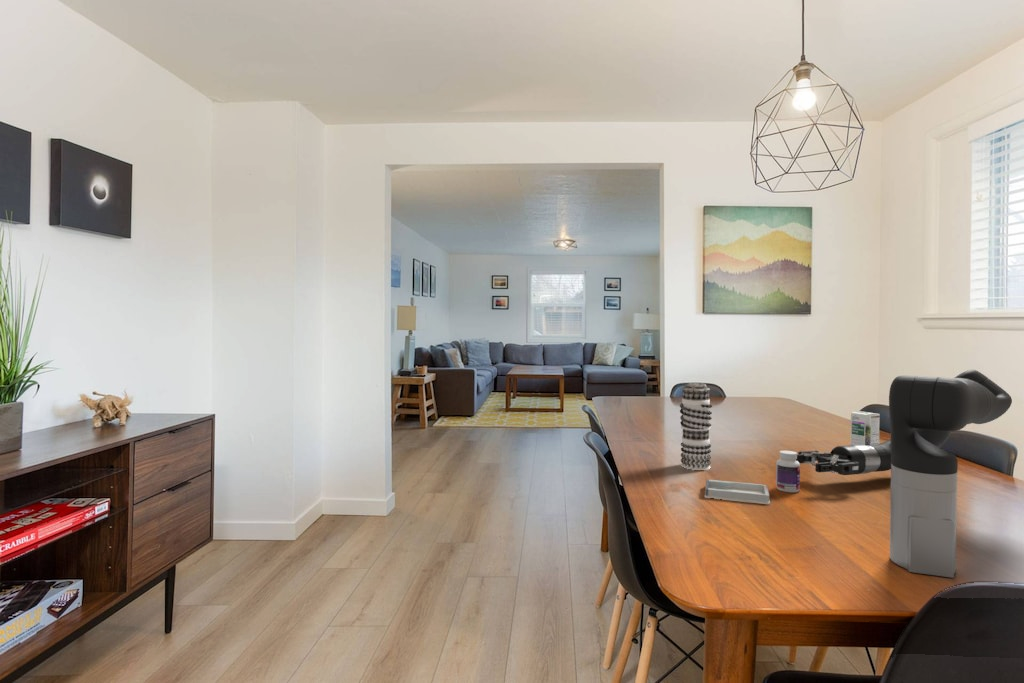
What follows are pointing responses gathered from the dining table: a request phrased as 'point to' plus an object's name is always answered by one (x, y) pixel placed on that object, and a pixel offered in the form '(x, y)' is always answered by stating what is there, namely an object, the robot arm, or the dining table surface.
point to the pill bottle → (788, 472)
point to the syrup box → (864, 428)
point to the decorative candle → (695, 427)
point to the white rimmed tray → (737, 491)
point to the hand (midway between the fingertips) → (803, 463)
